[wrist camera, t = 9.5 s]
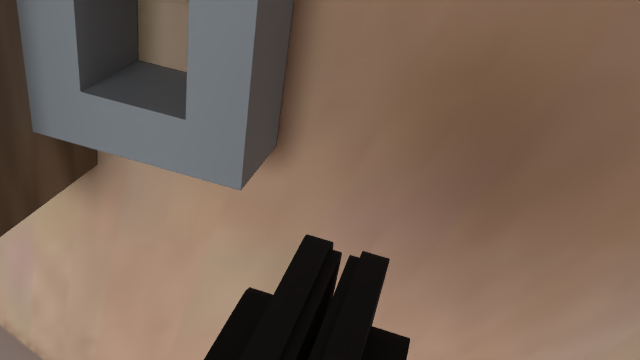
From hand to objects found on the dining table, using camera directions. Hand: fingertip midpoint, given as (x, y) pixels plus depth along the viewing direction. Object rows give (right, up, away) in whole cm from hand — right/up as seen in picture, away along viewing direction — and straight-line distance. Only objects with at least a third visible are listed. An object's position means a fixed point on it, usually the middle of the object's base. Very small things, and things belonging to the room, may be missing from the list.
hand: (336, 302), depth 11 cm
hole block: (-7, +10, +15) cm, 19 cm away
